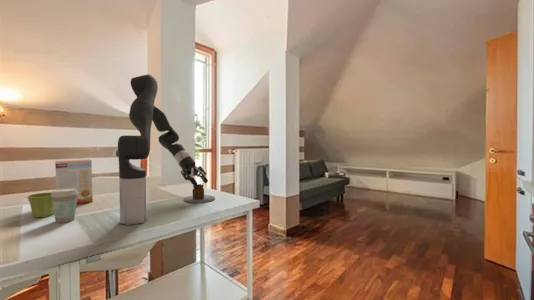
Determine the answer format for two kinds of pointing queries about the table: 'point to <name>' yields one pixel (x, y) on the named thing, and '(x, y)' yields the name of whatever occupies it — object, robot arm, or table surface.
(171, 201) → the table surface
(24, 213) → the table surface
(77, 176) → the cracker box
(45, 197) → the plant pot
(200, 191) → the utensil holder
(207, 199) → the charcoal mat
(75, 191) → the coffee cup
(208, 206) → the table surface
